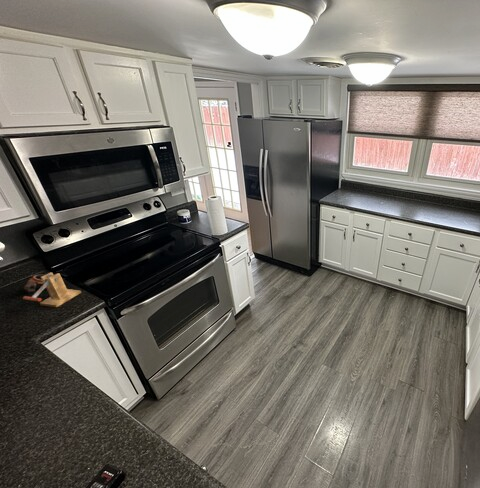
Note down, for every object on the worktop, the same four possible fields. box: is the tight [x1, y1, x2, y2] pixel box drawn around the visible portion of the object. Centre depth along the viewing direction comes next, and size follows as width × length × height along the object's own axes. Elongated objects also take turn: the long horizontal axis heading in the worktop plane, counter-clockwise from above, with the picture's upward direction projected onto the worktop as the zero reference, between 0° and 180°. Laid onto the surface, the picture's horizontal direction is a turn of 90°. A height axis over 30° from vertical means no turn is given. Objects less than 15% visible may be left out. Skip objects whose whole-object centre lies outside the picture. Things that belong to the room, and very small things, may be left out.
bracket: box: [39, 272, 82, 308], centre depth 128 cm, size 12×9×14 cm
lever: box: [22, 274, 54, 302], centre depth 123 cm, size 13×8×2 cm, turn 172°
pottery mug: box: [23, 273, 45, 293], centre depth 136 cm, size 12×10×8 cm
